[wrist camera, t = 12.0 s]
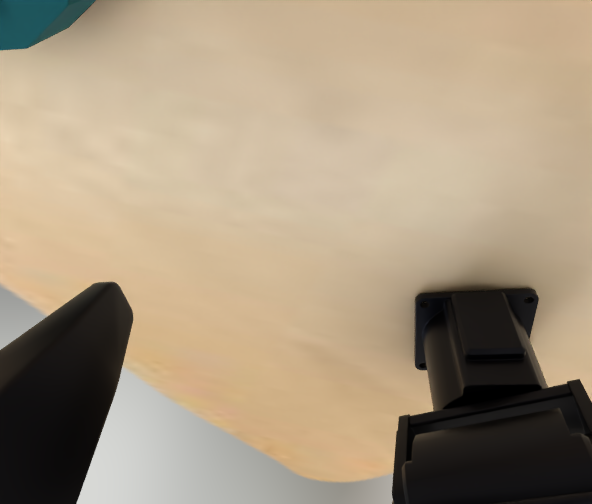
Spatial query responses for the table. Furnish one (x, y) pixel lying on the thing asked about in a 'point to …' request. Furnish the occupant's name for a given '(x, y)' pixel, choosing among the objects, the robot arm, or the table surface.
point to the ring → (36, 20)
